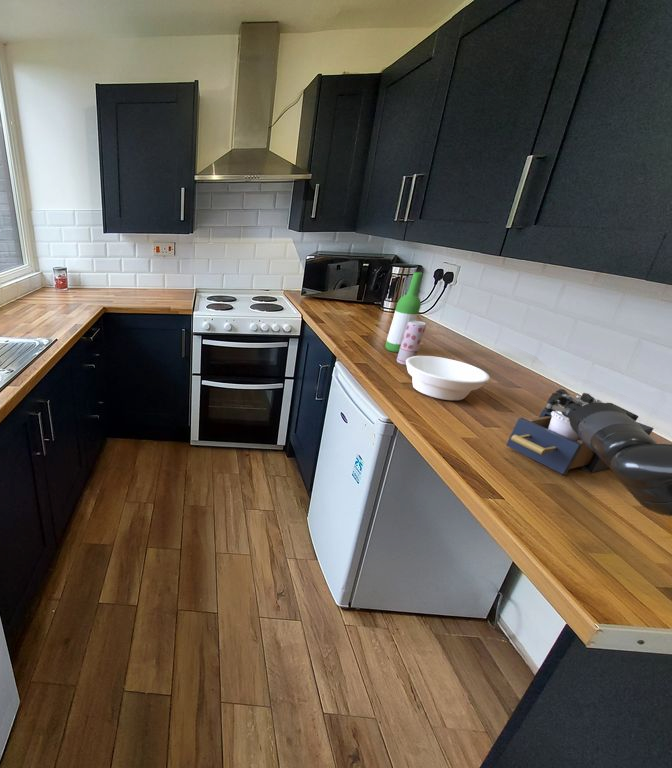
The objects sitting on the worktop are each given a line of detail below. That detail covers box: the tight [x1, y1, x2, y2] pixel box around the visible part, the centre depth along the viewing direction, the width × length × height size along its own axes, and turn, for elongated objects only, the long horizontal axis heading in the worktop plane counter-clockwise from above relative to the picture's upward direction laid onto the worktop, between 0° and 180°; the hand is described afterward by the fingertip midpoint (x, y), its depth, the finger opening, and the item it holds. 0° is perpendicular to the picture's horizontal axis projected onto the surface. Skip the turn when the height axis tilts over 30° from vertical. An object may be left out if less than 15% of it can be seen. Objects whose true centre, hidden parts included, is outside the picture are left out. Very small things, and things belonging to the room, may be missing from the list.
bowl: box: [405, 355, 491, 401], centre depth 120 cm, size 21×21×8 cm
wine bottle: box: [384, 271, 423, 354], centre depth 152 cm, size 8×8×30 cm
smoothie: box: [548, 395, 581, 441], centre depth 86 cm, size 6×6×14 cm
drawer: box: [506, 416, 596, 475], centre depth 88 cm, size 18×11×7 cm, turn 108°
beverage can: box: [396, 320, 427, 366], centre depth 142 cm, size 6×6×15 cm
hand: (571, 395), depth 87 cm, fingers open, 3 cm apart
